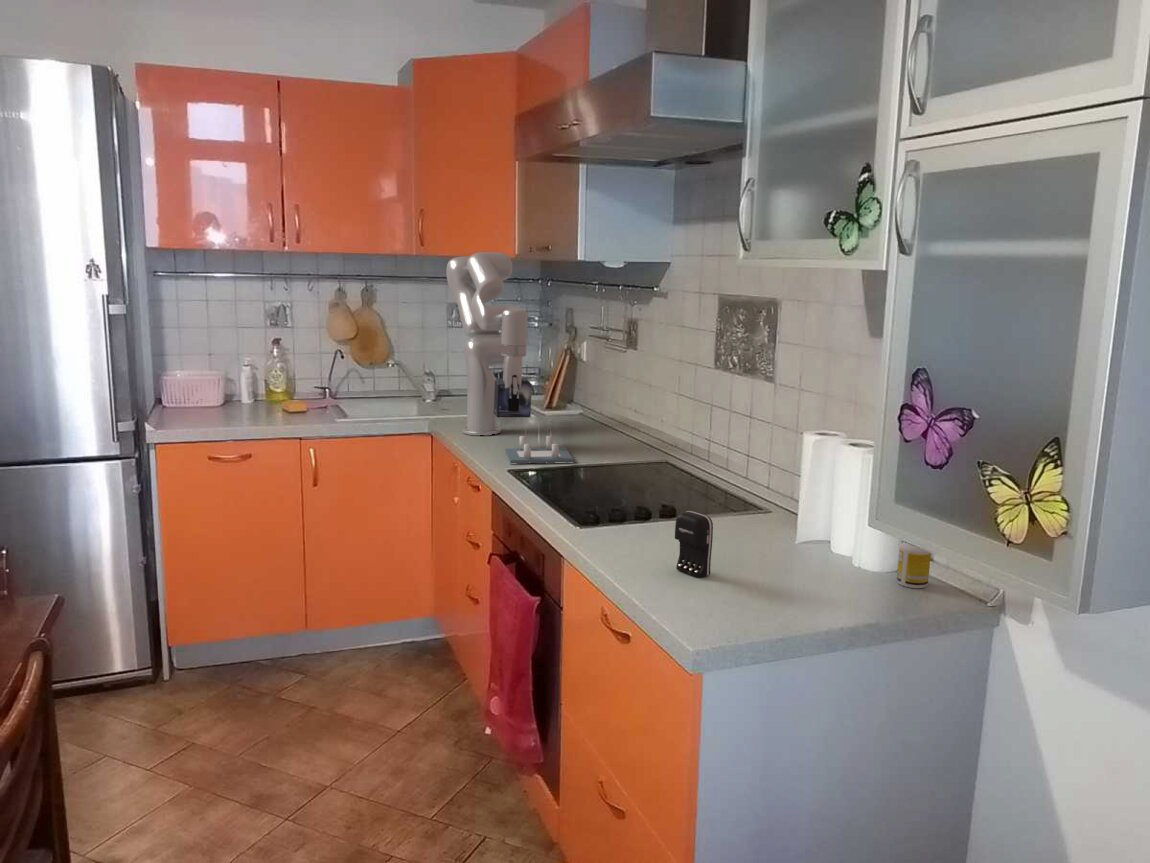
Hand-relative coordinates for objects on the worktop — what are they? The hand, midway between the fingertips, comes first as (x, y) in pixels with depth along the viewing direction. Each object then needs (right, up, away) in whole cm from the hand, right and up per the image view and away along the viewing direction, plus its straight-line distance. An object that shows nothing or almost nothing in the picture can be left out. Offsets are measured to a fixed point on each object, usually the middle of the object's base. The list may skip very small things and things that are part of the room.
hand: (512, 408), depth 276 cm
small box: (0, -2, +1) cm, 2 cm away
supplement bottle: (+81, -35, -110) cm, 141 cm away
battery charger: (+41, -34, -106) cm, 119 cm away
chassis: (+8, -15, -11) cm, 20 cm away
